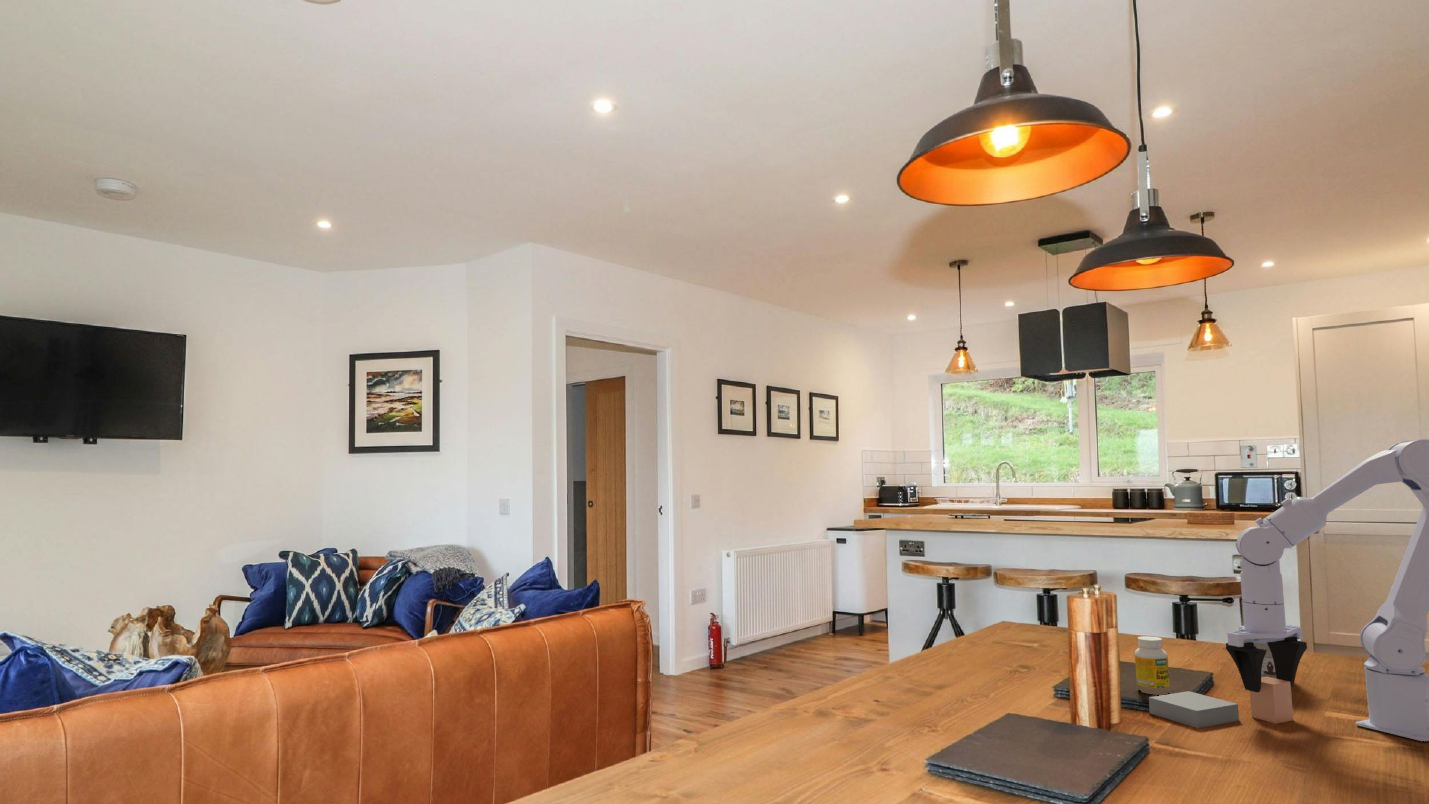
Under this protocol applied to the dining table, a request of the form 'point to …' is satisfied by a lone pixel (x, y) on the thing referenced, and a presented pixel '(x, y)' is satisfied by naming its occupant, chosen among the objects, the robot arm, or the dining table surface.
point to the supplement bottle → (1151, 663)
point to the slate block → (1194, 709)
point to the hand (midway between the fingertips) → (1269, 688)
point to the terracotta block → (1272, 701)
